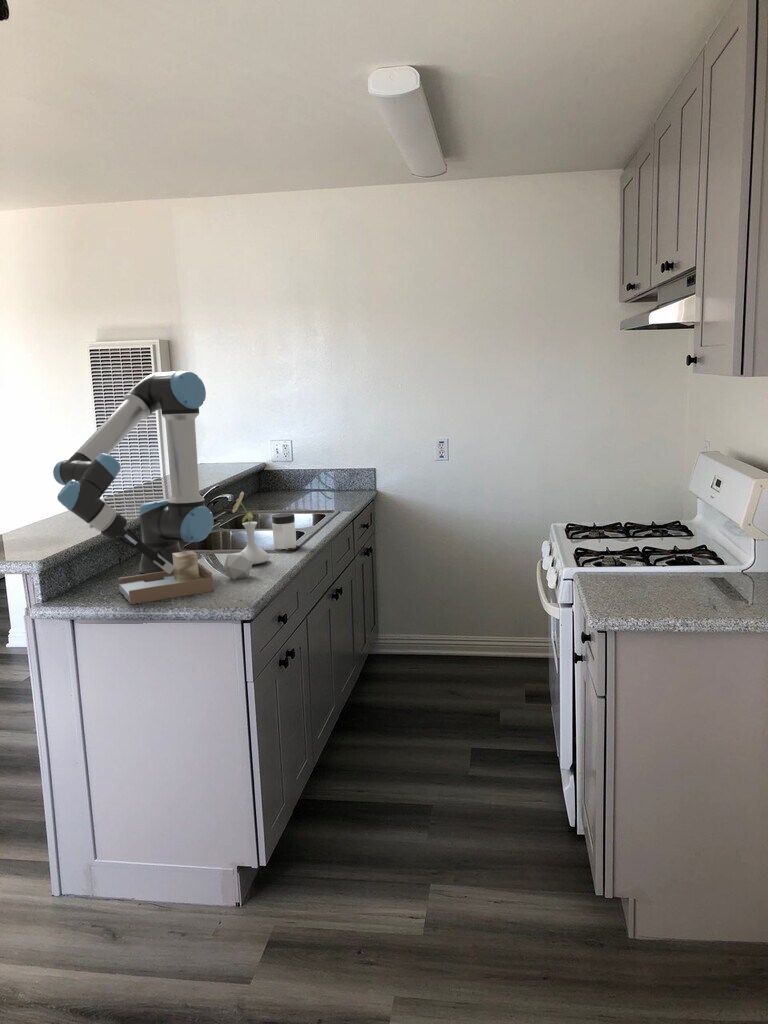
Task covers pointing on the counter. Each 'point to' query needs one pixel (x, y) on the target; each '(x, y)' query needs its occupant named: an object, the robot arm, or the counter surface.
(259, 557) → the flower in vase
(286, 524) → the jar
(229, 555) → the die
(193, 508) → the robot arm
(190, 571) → the block
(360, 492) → the counter surface
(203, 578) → the box
